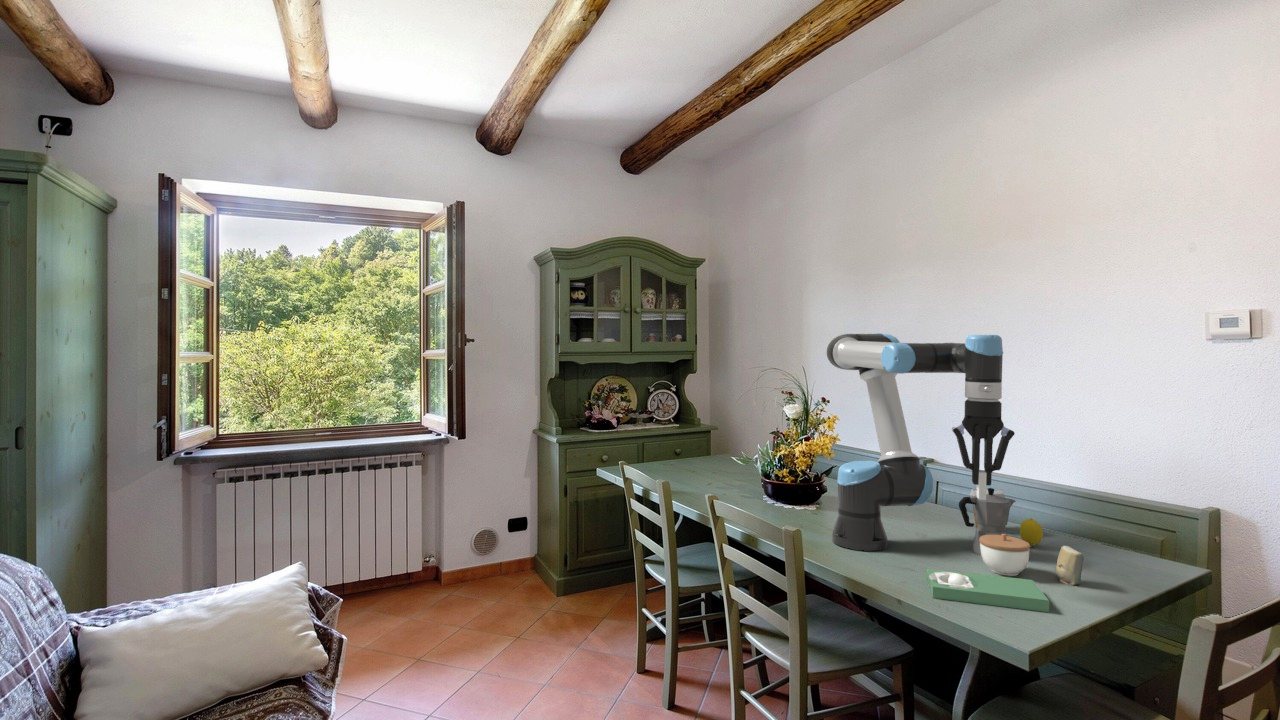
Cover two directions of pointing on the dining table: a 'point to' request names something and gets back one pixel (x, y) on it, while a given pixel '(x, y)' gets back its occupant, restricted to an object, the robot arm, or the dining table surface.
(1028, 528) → the lemon
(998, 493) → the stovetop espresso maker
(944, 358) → the robot arm
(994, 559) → the lidded jar
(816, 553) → the dining table surface
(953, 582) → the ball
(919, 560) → the dining table surface
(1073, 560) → the beige rounded block
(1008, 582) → the green flat slab
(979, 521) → the coffeepot
